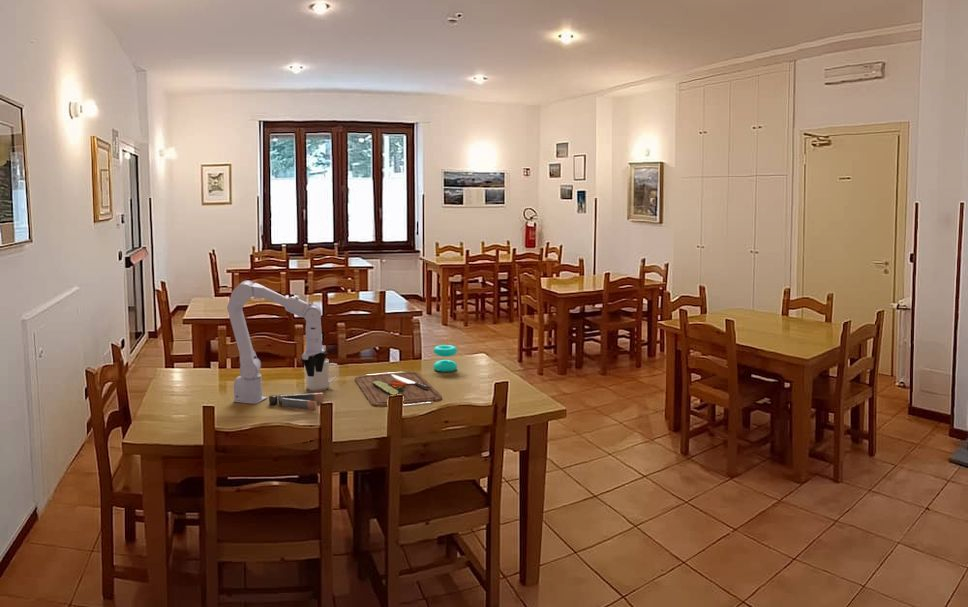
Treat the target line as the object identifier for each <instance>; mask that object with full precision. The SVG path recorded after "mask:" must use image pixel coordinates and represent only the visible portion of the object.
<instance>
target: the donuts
mask: <svg viewBox="0 0 968 607" xmlns="http://www.w3.org/2000/svg"><path fill="white" fill-rule="evenodd" d="M457 352H458V348H457V347H456V346H454V345H451V344H440V345H436V346H435V347H434V349H433V353H434V354H435V355H436V356H439V357H443V358H444V357H446V358H447V357H452V356H454V355H456V354H457ZM457 368H458V365H457V363H456V362H455V361H454V360H450V359H442V360H440V359H439V360H437V361H436V362H434V363H433V369H434V370H435V371H437V372H443V373H447V372H448V373H449V372H453V371H455V370H457Z"/></svg>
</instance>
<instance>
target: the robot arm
mask: <svg viewBox="0 0 968 607" xmlns="http://www.w3.org/2000/svg"><path fill="white" fill-rule="evenodd" d="M252 297H253V300H257V299H265V300H268V301H269V302H273V303H275V304H277V305H281V306H283V307H284V309H285V311H286V312H288V313H291V314H293V315H295V316H297V317H299V318H304V320H305V346H306V348H305V350H304V352H303V353H302V354H301V358H300V361H301V362H302V364H303V366H304V368H305V373H306V372H307V375H308V376H311V377H313V376H314V369H316V372H322V369H323V365H324V361H325V358H326V359H327V356H328V352H327V346H326V345H323V337H322V336H323V334H322V328H323V327H322V310H321V308H320V307H319V306H318V305H317V304H315V303H313V304H312V303H311V302H309V301H308V302H307V301H304V300H302V299H300V297H299V296H297V295H295V296H290V297H287V296H284V295H282V294H280V293H278V292H276V291H275V290H273V289H271V288H268V287H266V286H264V285H262V284H260V283H257V282H253V281H252V280H243V281H241V282H240V283H239V284H237V285H236V287H235V288H234V289H233V290H232V291H231V294H230V298H229V300H228V303H227V306H226V310H227V313H228V317H229V320H230V325H231V328H232V331H233V335H234V339H235V342H236V345H237V348H238V352H239V364H240V366H239V374H240V375H238V376H237V377H236V378H234V381H233V393H234V394H233V395H234V396H233V397H234V398H233V401H232V402H233V403H242V404H250V405H252V404H253V405H257V404H259V403H260V402H263V401H264V400H267V399H268V396H263V388H262V387H263V386H262V385H263V383H262V374H261V373H260V370H261V368H262V362H261V360H260V359H259V358H258V357H257V353H256V351H255V350H254V348H253V343H252V340H251V336H250V333H249V330H248V326H247V321H246V318H245V314H244V311H243V308H244V306H245V305H246V303H247V302H248V301H249V300H251V299H252Z"/></svg>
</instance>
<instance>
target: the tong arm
mask: <svg viewBox="0 0 968 607" xmlns="http://www.w3.org/2000/svg"><path fill="white" fill-rule="evenodd" d="M277 396H278V405H280V406H282V399H283V398H290V399H300V400H310V401H316V403H319V402H320V403H322V402H324V393H323V392H312V393H297V394H279V395H277Z"/></svg>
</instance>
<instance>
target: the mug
mask: <svg viewBox="0 0 968 607" xmlns="http://www.w3.org/2000/svg"><path fill="white" fill-rule="evenodd" d="M329 360H330V359H328V358H327V357H326V358H325V361H324V365H323V369H322V372H316V369H314V376H313V377H311V376H308V375H307V372H306V371H305V384H306V388H307V389H308V390H309V391H310V392H311V391H312V392H321V391H325V390H327V389H328V388H329V387H330V384H331V383H332V382H334V381H335V380H337V377H338V376H337V375H338V363H335V362H334V363H333V362H331V363H330V361H329ZM331 366H335V376H334V377H333V378H332V379H330V367H331Z"/></svg>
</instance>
